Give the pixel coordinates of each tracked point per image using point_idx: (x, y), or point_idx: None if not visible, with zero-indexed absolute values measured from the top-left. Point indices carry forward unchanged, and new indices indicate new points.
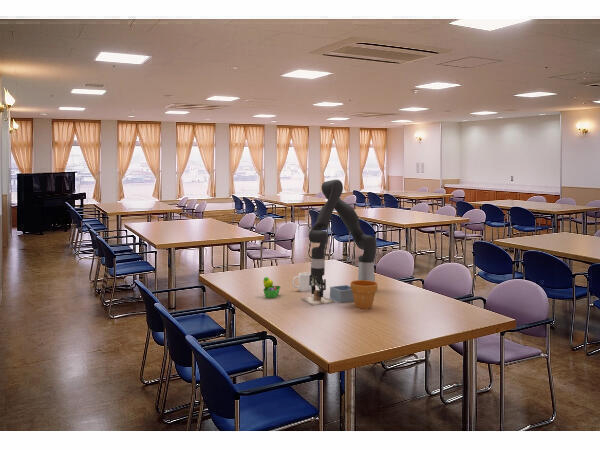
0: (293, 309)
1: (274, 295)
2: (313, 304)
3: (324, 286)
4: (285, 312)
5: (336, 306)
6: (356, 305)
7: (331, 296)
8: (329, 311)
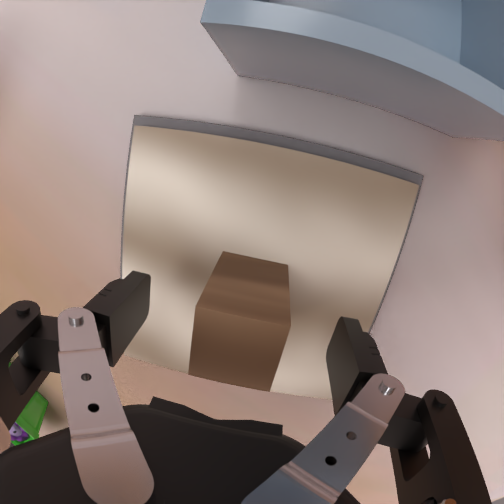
0: None
1: (42, 417)
2: None
3: (442, 442)
4: None
5: (479, 241)
6: None
7: (270, 72)
8: (489, 365)
